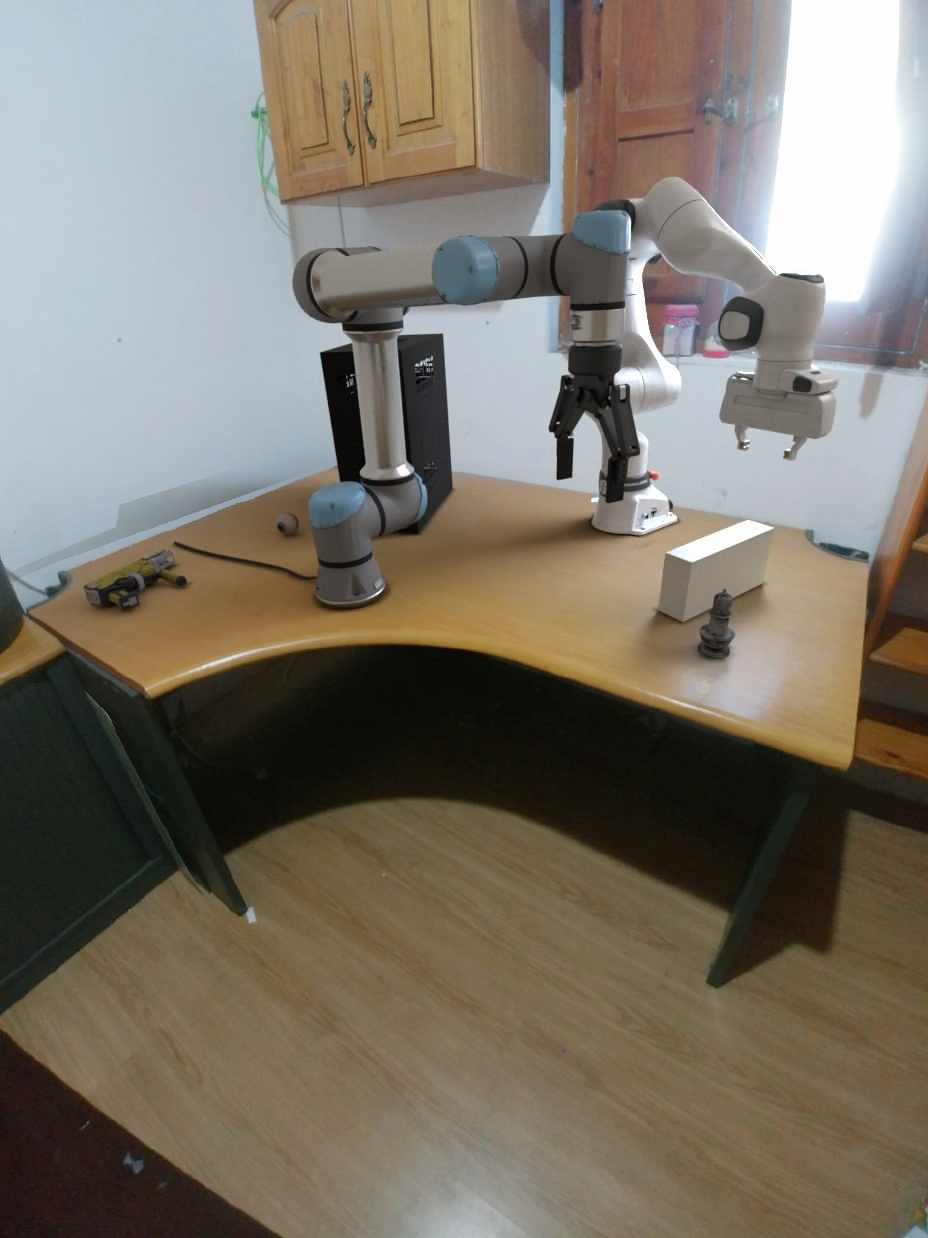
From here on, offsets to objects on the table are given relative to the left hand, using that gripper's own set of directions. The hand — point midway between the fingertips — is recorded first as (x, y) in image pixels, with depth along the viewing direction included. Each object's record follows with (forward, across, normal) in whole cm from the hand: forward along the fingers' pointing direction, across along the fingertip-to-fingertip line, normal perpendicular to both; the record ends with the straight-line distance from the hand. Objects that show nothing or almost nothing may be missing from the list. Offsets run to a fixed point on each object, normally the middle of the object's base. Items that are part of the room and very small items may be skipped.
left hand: (587, 489), depth 96 cm
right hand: (+2, -3, +42) cm, 42 cm away
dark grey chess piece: (+29, +13, +19) cm, 37 cm away
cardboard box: (+29, -87, -3) cm, 92 cm away
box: (+29, -2, +33) cm, 44 cm away
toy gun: (+29, -68, -72) cm, 103 cm away
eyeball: (+29, -85, -37) cm, 97 cm away
